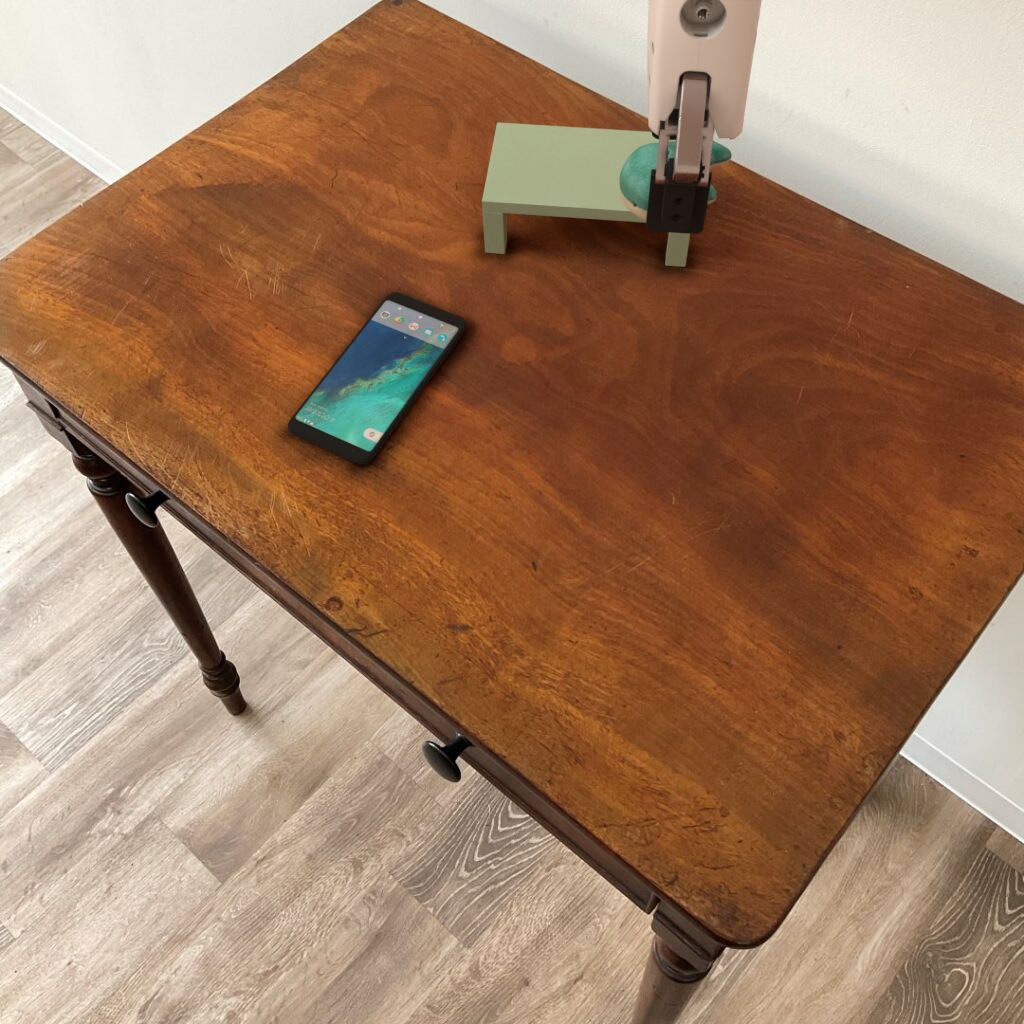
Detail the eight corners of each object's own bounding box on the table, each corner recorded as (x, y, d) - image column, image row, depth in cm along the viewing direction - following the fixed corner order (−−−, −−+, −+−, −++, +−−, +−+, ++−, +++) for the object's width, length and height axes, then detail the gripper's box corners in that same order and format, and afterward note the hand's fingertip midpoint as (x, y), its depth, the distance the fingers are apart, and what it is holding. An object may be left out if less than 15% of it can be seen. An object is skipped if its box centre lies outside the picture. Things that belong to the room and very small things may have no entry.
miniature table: (690, 188, 92) (697, 134, 87) (685, 267, 87) (693, 215, 83) (499, 175, 93) (497, 122, 89) (485, 253, 89) (481, 200, 84)
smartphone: (470, 319, 84) (366, 464, 77) (471, 326, 85) (367, 470, 78) (391, 287, 86) (281, 427, 79) (392, 294, 87) (284, 433, 80)
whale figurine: (594, 198, 65) (597, 145, 62) (678, 137, 67) (685, 84, 64) (668, 249, 63) (675, 197, 59) (753, 184, 65) (763, 131, 62)
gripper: (807, -7, 44) (741, 297, 60) (796, -226, 53) (741, 87, 69) (620, -14, 45) (601, 288, 60) (640, -229, 54) (620, 81, 69)
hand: (676, 179), depth 64 cm, fingers closed on whale figurine, 7 cm apart
